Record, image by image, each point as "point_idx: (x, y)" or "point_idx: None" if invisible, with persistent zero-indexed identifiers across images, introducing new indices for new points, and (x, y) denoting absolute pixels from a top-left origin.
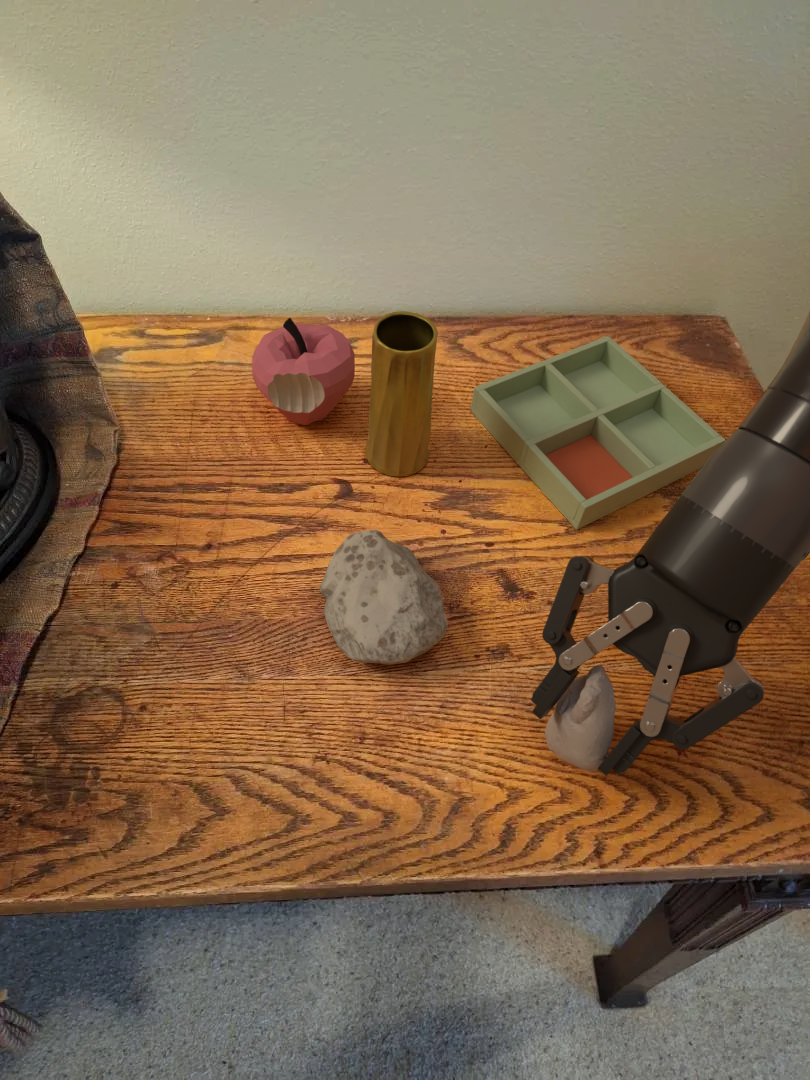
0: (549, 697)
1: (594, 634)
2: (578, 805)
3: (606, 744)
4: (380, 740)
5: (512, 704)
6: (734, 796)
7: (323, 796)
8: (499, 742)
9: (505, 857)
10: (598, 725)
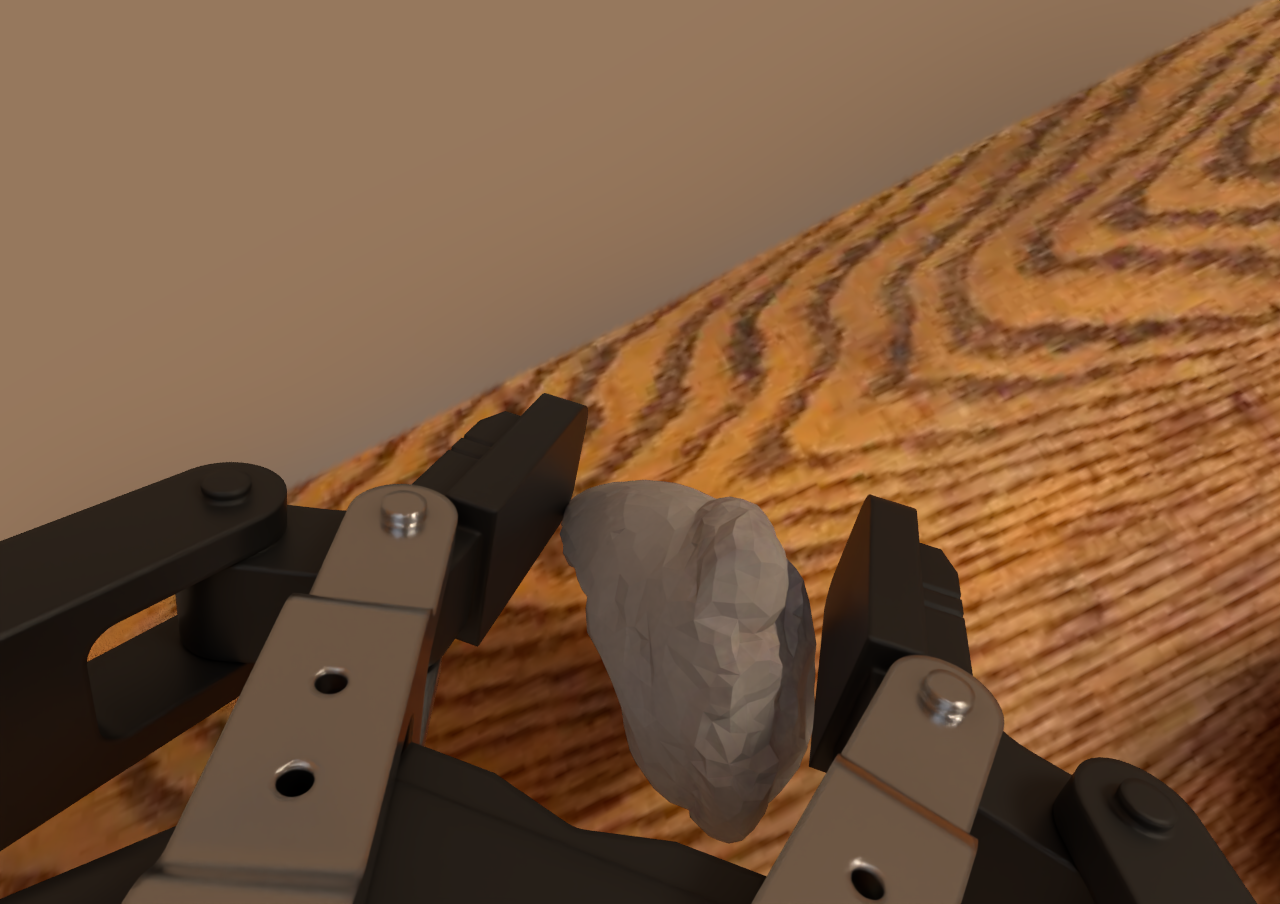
0: (895, 549)
1: (945, 868)
2: None
3: (579, 512)
4: (1192, 424)
5: None
6: None
7: (1221, 231)
8: None
9: (729, 301)
10: (641, 507)
